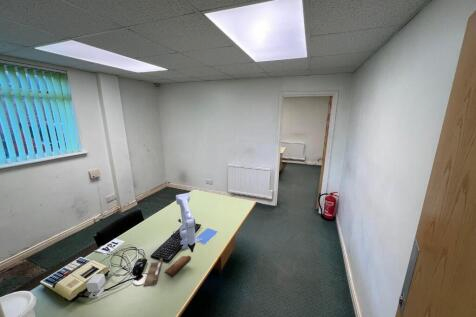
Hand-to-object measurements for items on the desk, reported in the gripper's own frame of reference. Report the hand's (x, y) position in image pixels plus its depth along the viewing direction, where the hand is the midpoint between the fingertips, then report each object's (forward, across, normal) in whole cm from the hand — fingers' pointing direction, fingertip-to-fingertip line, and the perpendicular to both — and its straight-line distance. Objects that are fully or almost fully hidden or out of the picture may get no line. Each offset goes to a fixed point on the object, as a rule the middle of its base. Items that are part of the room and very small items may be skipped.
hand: (192, 251), depth 130 cm
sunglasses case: (+10, -10, -1) cm, 15 cm away
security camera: (+10, -56, -13) cm, 58 cm away
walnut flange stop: (+10, -26, -5) cm, 28 cm away
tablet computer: (+11, +10, +28) cm, 32 cm away
